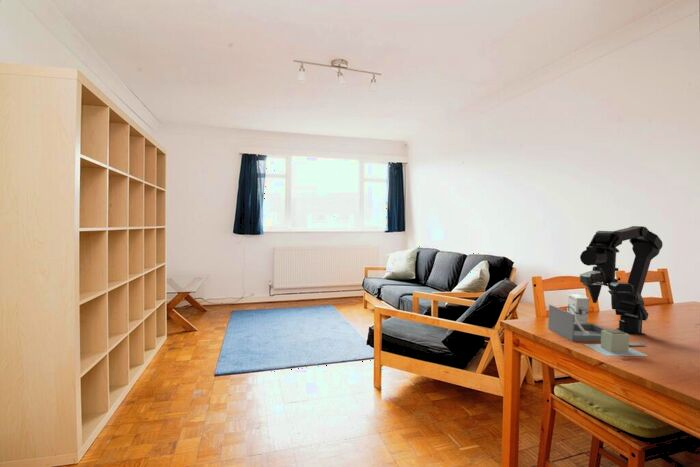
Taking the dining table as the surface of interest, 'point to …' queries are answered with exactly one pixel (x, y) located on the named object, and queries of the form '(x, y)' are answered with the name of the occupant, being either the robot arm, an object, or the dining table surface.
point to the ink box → (578, 307)
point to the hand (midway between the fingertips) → (603, 306)
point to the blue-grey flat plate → (598, 348)
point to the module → (614, 341)
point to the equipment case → (572, 326)
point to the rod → (636, 344)
